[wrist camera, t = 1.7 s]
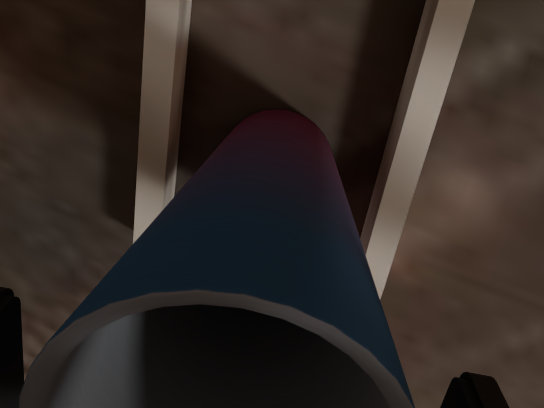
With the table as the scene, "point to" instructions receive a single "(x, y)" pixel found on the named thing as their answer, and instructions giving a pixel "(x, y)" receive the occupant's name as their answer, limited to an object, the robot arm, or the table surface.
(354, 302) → the cup
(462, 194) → the table surface
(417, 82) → the track
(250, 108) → the table surface
